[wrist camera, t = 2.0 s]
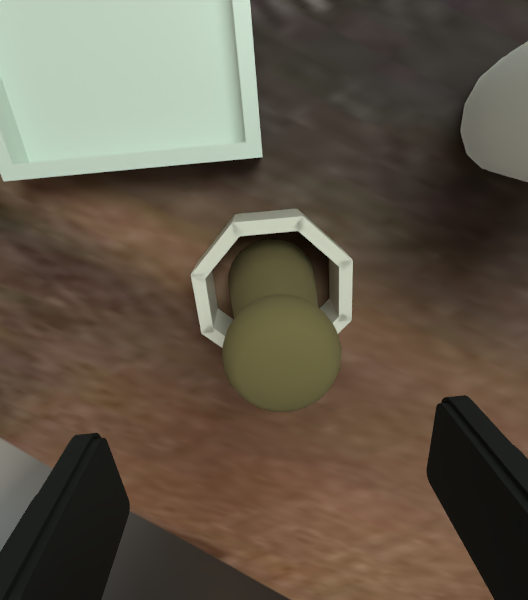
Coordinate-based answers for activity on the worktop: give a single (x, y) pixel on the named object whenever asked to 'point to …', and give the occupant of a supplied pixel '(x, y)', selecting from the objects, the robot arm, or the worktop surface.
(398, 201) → the worktop surface
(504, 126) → the foam cup
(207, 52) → the tray
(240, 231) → the collar
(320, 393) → the cork
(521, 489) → the robot arm
